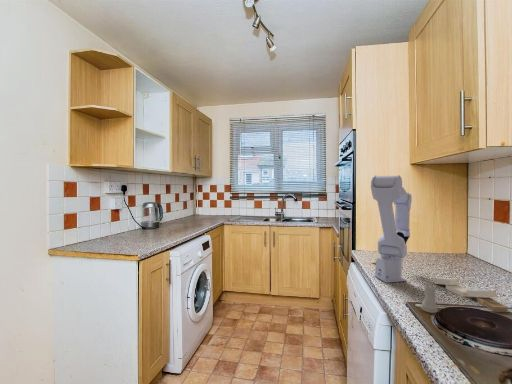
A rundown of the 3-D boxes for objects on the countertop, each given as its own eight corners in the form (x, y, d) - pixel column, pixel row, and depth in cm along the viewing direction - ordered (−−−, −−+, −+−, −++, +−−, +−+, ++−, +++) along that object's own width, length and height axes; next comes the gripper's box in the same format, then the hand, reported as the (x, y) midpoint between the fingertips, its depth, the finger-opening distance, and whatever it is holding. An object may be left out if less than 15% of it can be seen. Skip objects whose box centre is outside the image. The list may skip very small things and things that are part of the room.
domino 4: (489, 303, 90) (506, 313, 83) (476, 302, 91) (493, 313, 84) (489, 297, 90) (507, 307, 83) (476, 296, 90) (493, 306, 83)
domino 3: (477, 296, 94) (497, 297, 87) (467, 296, 93) (487, 297, 87) (475, 290, 95) (495, 290, 88) (465, 290, 94) (485, 290, 87)
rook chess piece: (441, 312, 83) (442, 287, 83) (429, 314, 82) (430, 288, 82) (429, 306, 87) (430, 281, 87) (417, 307, 86) (418, 283, 86)
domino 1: (443, 282, 107) (459, 284, 100) (434, 283, 106) (450, 285, 99) (442, 277, 107) (458, 278, 100) (433, 278, 106) (449, 279, 100)
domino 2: (455, 289, 102) (472, 297, 95) (445, 290, 101) (462, 298, 94) (455, 284, 102) (472, 291, 95) (445, 284, 101) (463, 292, 94)
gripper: (388, 216, 129) (387, 244, 130) (397, 221, 115) (396, 252, 116) (404, 217, 128) (403, 245, 128) (415, 221, 114) (414, 253, 114)
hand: (401, 248), depth 122 cm, fingers closed
